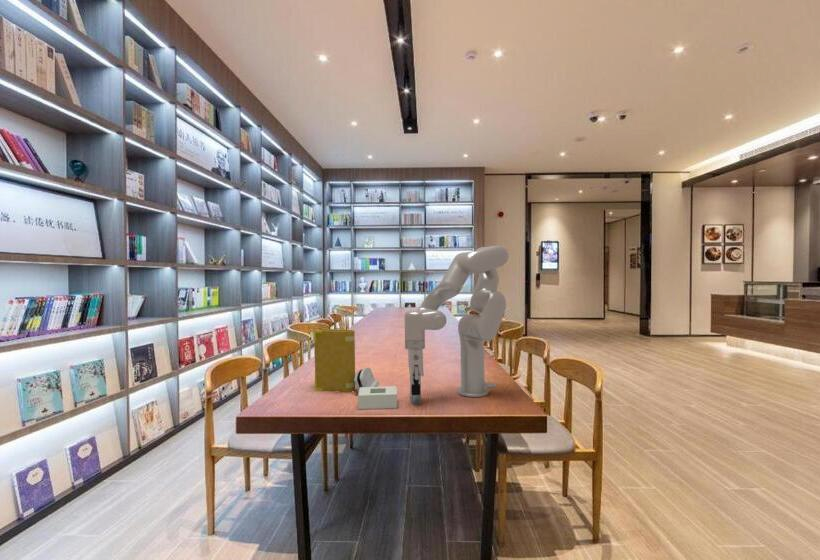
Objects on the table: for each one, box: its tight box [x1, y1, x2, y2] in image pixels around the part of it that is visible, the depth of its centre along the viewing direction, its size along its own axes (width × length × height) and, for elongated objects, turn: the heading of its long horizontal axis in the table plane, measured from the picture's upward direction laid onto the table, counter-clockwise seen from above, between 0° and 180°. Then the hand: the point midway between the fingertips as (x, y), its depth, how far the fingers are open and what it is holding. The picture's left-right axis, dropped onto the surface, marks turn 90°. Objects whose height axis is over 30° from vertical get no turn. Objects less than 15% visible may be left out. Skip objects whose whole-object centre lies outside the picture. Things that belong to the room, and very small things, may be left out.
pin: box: [409, 371, 422, 405], centre depth 142 cm, size 4×4×12 cm
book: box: [313, 328, 356, 393], centre depth 160 cm, size 17×7×25 cm, turn 71°
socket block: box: [357, 385, 398, 410], centre depth 141 cm, size 14×10×5 cm
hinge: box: [354, 367, 380, 395], centre depth 158 cm, size 17×5×10 cm, turn 174°
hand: (415, 392), depth 142 cm, fingers closed on pin, 4 cm apart
